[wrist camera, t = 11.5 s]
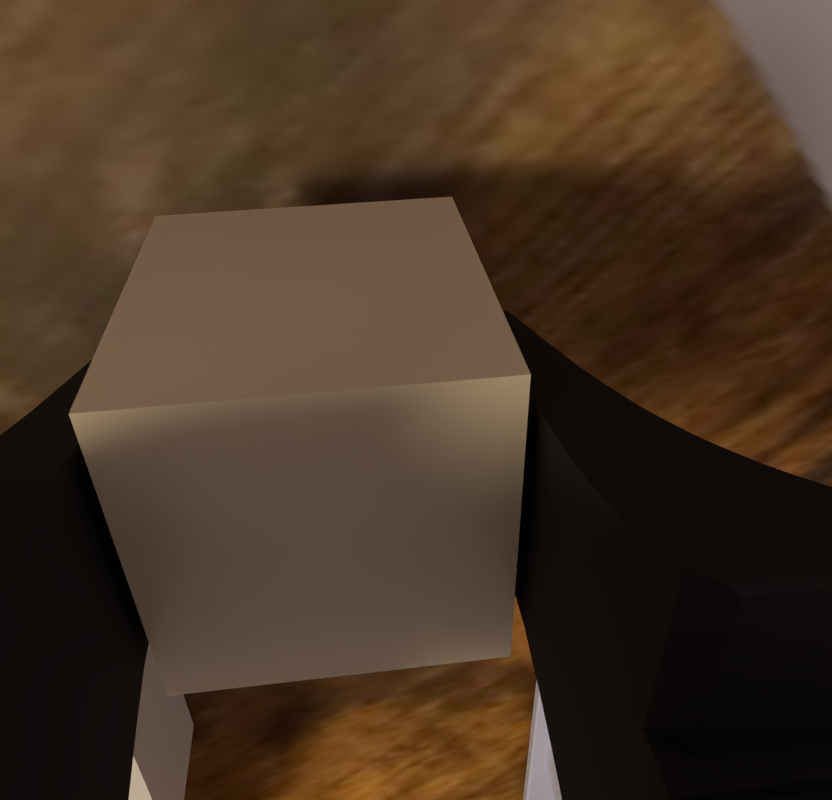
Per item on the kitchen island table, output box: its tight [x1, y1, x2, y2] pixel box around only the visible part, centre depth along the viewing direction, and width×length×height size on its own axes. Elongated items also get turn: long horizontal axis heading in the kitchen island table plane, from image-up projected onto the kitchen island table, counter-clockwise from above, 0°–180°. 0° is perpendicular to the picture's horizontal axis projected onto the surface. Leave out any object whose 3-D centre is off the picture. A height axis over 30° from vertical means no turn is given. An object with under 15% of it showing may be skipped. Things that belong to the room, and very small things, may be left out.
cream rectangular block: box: [69, 197, 531, 696], centre depth 11 cm, size 4×4×5 cm
